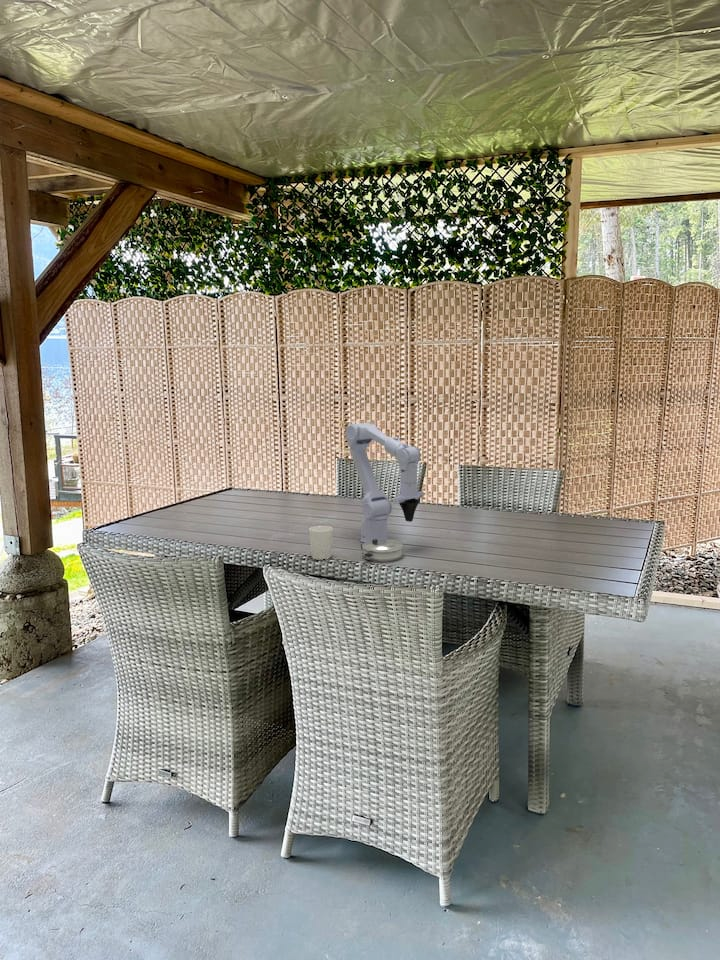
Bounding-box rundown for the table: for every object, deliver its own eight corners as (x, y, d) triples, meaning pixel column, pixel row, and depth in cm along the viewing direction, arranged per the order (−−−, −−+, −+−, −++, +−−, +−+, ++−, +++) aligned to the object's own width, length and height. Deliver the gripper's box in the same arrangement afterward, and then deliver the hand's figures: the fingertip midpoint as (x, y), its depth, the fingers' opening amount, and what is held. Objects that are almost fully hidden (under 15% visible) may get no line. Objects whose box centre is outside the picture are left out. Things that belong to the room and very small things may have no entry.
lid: (354, 548, 231) (353, 542, 230) (380, 540, 241) (379, 534, 240) (385, 554, 222) (385, 548, 221) (411, 546, 232) (410, 539, 231)
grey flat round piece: (348, 557, 231) (348, 548, 231) (379, 547, 243) (378, 539, 243) (382, 565, 222) (382, 556, 221) (412, 554, 233) (412, 545, 233)
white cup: (338, 556, 233) (337, 527, 231) (321, 561, 227) (321, 532, 226) (321, 552, 238) (320, 524, 237) (305, 557, 232) (304, 529, 231)
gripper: (404, 486, 227) (405, 526, 230) (430, 480, 238) (430, 518, 240) (388, 484, 232) (388, 523, 234) (414, 478, 243) (414, 516, 245)
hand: (409, 521), depth 238 cm, fingers closed
